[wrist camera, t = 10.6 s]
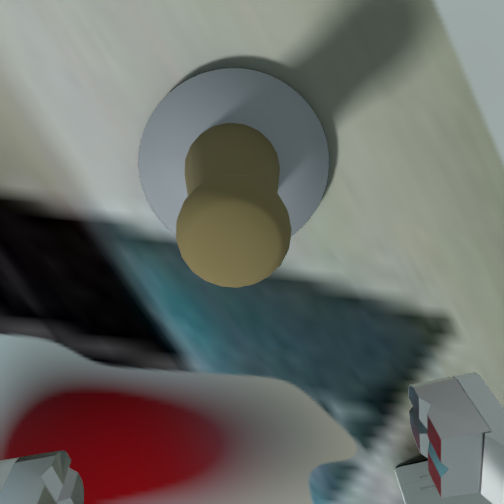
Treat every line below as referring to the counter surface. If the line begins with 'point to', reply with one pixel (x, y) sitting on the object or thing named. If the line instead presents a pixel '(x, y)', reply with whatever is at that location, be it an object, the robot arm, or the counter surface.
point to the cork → (233, 207)
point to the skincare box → (428, 488)
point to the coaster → (241, 112)
